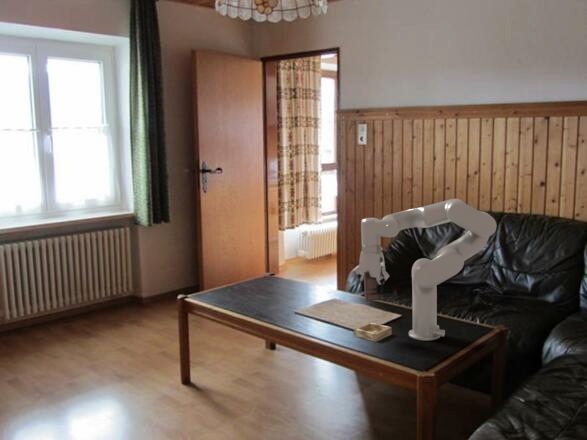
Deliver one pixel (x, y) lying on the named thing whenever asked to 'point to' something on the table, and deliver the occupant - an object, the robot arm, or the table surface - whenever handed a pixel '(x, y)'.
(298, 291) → the table surface
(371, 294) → the box
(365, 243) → the robot arm
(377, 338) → the housing
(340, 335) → the table surface
